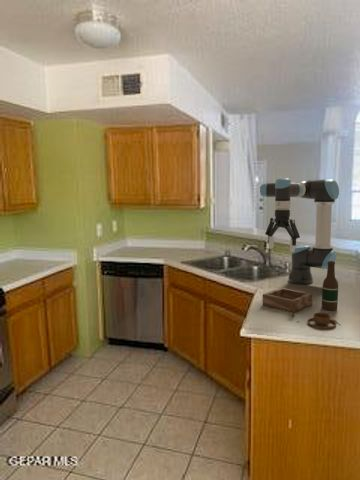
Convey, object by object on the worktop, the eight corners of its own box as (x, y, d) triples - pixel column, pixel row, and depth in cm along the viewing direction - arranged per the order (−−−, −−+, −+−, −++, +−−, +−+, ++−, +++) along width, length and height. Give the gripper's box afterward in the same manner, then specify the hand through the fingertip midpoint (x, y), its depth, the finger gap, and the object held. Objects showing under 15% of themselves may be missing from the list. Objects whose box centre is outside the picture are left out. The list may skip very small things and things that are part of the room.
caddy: (281, 298, 208) (281, 287, 207) (312, 305, 195) (312, 293, 194) (262, 305, 195) (262, 294, 195) (294, 313, 182) (294, 301, 182)
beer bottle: (319, 306, 193) (320, 260, 190) (334, 306, 193) (336, 259, 189) (324, 311, 185) (326, 263, 182) (340, 311, 185) (342, 263, 182)
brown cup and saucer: (310, 332, 160) (310, 319, 159) (287, 316, 179) (288, 304, 178) (347, 328, 163) (347, 315, 162) (321, 313, 183) (321, 302, 182)
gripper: (258, 208, 201) (258, 248, 204) (298, 210, 181) (297, 254, 184) (268, 208, 205) (267, 246, 208) (307, 209, 185) (306, 252, 188)
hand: (281, 250), depth 196 cm, fingers open, 13 cm apart
